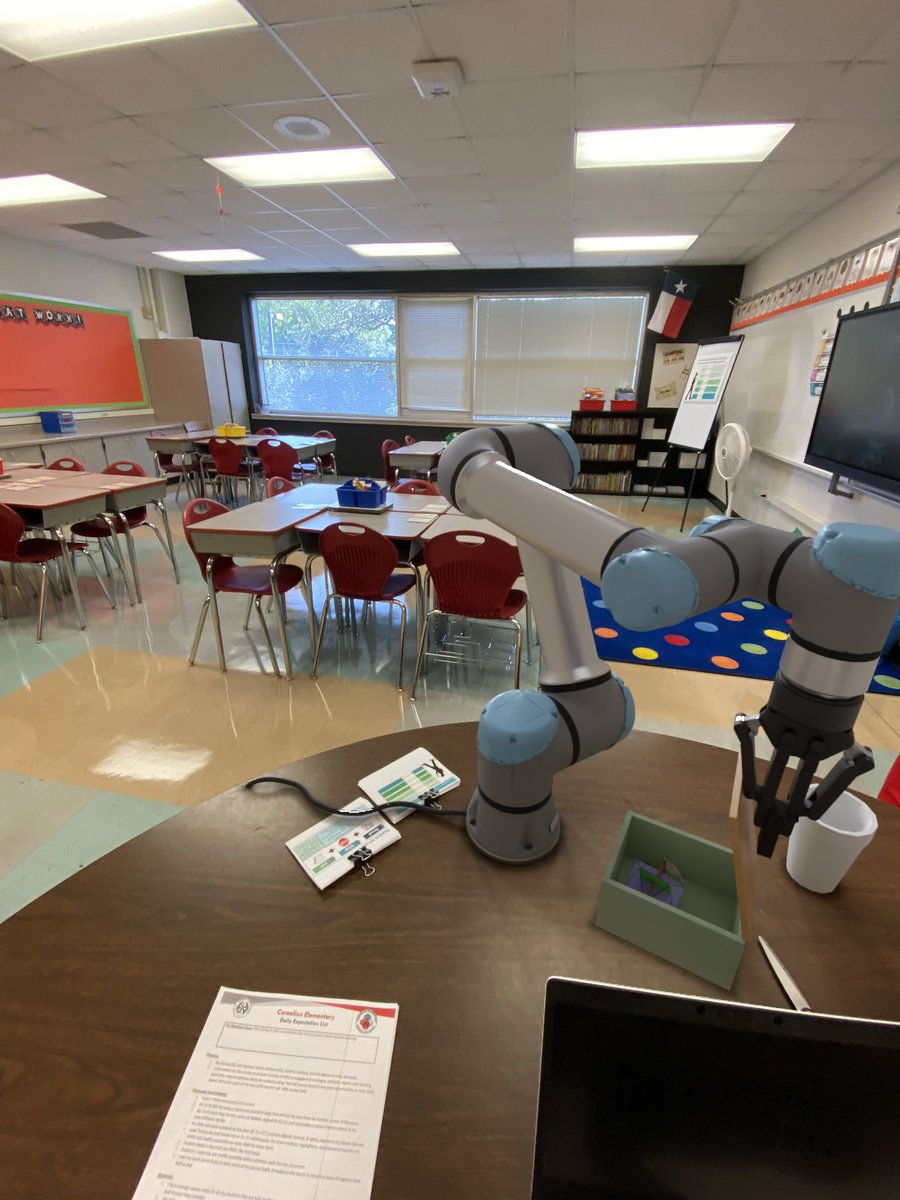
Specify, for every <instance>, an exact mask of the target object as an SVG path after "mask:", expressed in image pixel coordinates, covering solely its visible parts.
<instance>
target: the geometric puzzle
mask: <svg viewBox="0 0 900 1200" xmlns="http://www.w3.org/2000/svg"><path fill="white" fill-rule="evenodd" d="M662 860H663V859H662ZM665 860H666V859H665V858H664V861H663V863H662V865H661V868H660V870H659V871H657V870H655V869H654V868H652V867H650V866H648V863H646V864H645V862H644V863H643V861H642V862H641V860H638V859H637V862H636V864H635V866H634V868H633V870H632V872H631V873H630V875H629V877H628V879H627V881H626V883H625V884H624V885H625V886H627V887H630V888H632V889H634V890H636V891H639V892H641V893H643V894H645V895H648V896H650V897H652V898H654V899H657V900H659V901H661V902H663V903H666V904H668V905H670V906H673V907H675V908H676V907H677V905H678V902H679V900H680V898H681V896H682V893H683V891H684V889H685V888H686V886H685V885H684V882H683V880H682V877H681V875H680V872H679V870H678V869H677V868H676V867H675V866H674V865H673V864H671V863H670V862H668V861H667V860H666V861H665ZM659 861H660V860H659ZM656 862H657V861H656ZM653 863H654V862H653ZM665 863H666V866H665ZM650 864H651V863H650ZM650 864H649V865H650ZM651 866H652V865H651ZM653 867H655V866H653ZM656 868H657V867H656ZM658 869H659V868H658ZM665 872H666V873H667V874H668V873H670V874H672V875H674V876H676V877H678V878H679V879H680V880H681V882H682V883H683V884H682V885H681V883H680V882H679V881H678V882H679V883H680V884H679V883H678V882H676V881H674V880H673V879H671V878H669V876H668V877H667V876H666V875H664V874H663V873H665ZM670 874H669V875H670ZM670 876H671V875H670ZM671 877H672V876H671ZM674 879H675V878H674ZM675 880H676V879H675Z"/></svg>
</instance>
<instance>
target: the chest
mask: <svg viewBox="0 0 900 1200" xmlns="http://www.w3.org/2000/svg"><path fill="white" fill-rule="evenodd" d="M664 858H665V859H666V860H667V861H668V862H670V863H671V864H673V865H674V866H675V867H676V868H677V869H678V870H679V872H680V875H681V877H682V880H683V882H684V885H685V886H686V888H685V889H684V891H683V893H682V896H681V898H680V900H679V902H678V905H677V907H676V908H675V907H673V906H670V905H668V904H666V903H663V902H661V901H659V900H657V899H654V898H652V897H650V896H648V895H645V894H643V893H641V892H639V891H636V890H634V889H632V888H630V887H627V886H625V885H624V884H625V883H626V881H627V879H628V877H629V875H630V873H631V872H632V870H633V868H634V866H635V864H636V862H637V859H638V860H641V862H642V861H643V863H644V862H645V864H646V863H648V866H650V867H652V868H654V869H655V870H657V871H659V870H660V868H661V865H662V863H663V861H664ZM662 859H663V860H662ZM659 860H660V861H659ZM666 860H665V861H666ZM656 861H657V862H656ZM653 862H654V863H653ZM650 863H651V864H650ZM649 864H650V865H649ZM651 865H652V866H651ZM653 866H655V867H653ZM665 866H666V863H665ZM656 867H657V868H656ZM658 868H659V869H658ZM663 874H664V875H666V876H667V877H668V876H669V878H671V879H673V880H674V881H676V882H678V881H679V882H680V883H681V885H682V884H683V883H682V882H681V880H680V879H679V878H678V877H676V876H674V875H672V874H670V873H668V874H667V873H666V872H665V873H663ZM669 874H670V875H671V876H672V877H671V876H670V875H669ZM674 878H675V879H676V880H675V879H674ZM679 882H678V883H679ZM680 883H679V884H680ZM594 926H596V927H598V928H600V929H602V930H604V931H606V932H609V933H610V934H612V935H614V936H616V937H619V938H620V939H622V940H625V941H627V942H629V943H631V944H633V945H635V946H637V947H639V948H641V949H643V950H645V951H647V952H649V953H651V954H653V955H655V956H657V957H660V958H662V959H664V960H666V961H668V962H669V963H671V964H674V965H676V966H677V967H680V968H682V969H684V970H686V971H688V972H690V973H692V974H694V975H696V976H698V977H700V978H702V979H704V980H706V981H709V982H710V983H712V984H715V985H717V986H719V987H720V988H722V989H725V990H727V991H728V992H730V991H731V988H732V985H733V982H734V979H735V976H736V973H737V971H738V968H739V966H740V965H739V964H740V962H741V959H742V955H743V953H744V950H745V947H746V943H747V942H745V941H743V940H742V932H741V922H740V913H739V904H738V895H737V886H736V877H735V868H734V858H733V849H732V848H730V847H729V848H728V847H727V846H723V845H721V844H718V843H716V842H713V841H710V840H708V839H705V838H702V837H701V836H697V835H695V834H692V833H689V832H687V831H684V830H682V829H679V828H676V827H673V826H671V825H669V824H666V823H662V822H660V821H658V820H655V819H653V818H650V817H647V816H645V815H642V814H639V813H637V812H634V811H631V810H629V809H628V810H627V811H626V815H625V817H624V820H623V823H622V825H621V828H620V831H619V834H618V836H617V838H616V841H615V844H614V847H613V849H612V851H611V855H610V857H609V860H608V862H607V865H606V868H605V871H604V873H603V877H602V878H601V884H600V890H599V897H598V902H597V910H596V916H595V922H594Z"/></svg>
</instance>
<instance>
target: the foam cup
mask: <svg viewBox="0 0 900 1200" xmlns="http://www.w3.org/2000/svg"><path fill="white" fill-rule="evenodd" d="M819 784H820V783H817V782H816V783H811V784H810V787H809V789H808V792H807V795H806V798H805V799H807V798H808V797H809V796H810V794H811V793H812V792H813V791H814V790H815V788H816V787H817V786H818V785H819ZM878 827H879V824H878V819H877V815H876V814H875V813H874V811H873V810H872V809H871V808H870V807H869V806H868V805H867V803H866V802H864V801H863V800H862V799H859V798H858V797H857V796H856V795H853V794H852V793H851V792H848V791H846V790H845V791H844V792H843V793H842V794H841V795H840V796H839V798H838V799H837V800H836V801H835V802H834V803H833V804H832V805H831V807H830V808H829V809H828V810H827V811H826V812H825V813H824V815H823V816H822V817H821V818H820V819H819V820H817V821H813V820H810V819H809V818H808V817H799V822H798V823H795V825H794V828H793V831H792V834H791V835H790V836H789V840H788V847H787V855H786V870H787V872H788V874H789V875H790V878H792V879H793V880H794V881H795V882H796V883H798V884H799V885H800V886H801V887H803V888H805V889H807V890H809V891H811V892H816V893H819V894H828V893H832V892H833V891H834V890H835V888H836V887H838V885H839V883H840V882H841V881H842V880H843V878H844V876H845V875H846V874H847V872H848V871H849V869H850V868H851V867H852V865H853V864H854V862H855V861H856V860H857V858H858V857H859V855H860V854H861V852H862V851H863V850H864V848H867V847H868V845H869V844H870V843H871V841H873V839H874V837H875V835H876V832H877V830H878Z"/></svg>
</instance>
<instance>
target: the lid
mask: <svg viewBox="0 0 900 1200" xmlns="http://www.w3.org/2000/svg"><path fill="white" fill-rule="evenodd" d="M753 801H754V800H753V799H747V798H745V797H744V795H743V779H742V761H741V743H740V744H739V749H738V755H737V761H736V768H735V775H734V782H733V789H732V795H731V801H730V808H729V815H728V821H729V830H730V831H729V832H730V840H731V849H732V850H733V858H734V868H735V877H736V886H737V895H738V904H739V913H740V922H741V932H742V940H743V941H745V942H746V943H751V939H752V929H753V927H752V925H753V915H754V903H755V892H756V891H755V890H756V879H757V867H758V858H759V857H758V855H759V854H757V836H756V835H757V834H756V826H754V822H753V820H754V812H755V811H754V803H753Z"/></svg>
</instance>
